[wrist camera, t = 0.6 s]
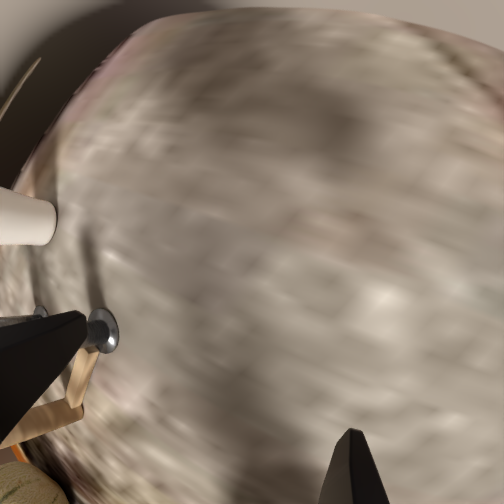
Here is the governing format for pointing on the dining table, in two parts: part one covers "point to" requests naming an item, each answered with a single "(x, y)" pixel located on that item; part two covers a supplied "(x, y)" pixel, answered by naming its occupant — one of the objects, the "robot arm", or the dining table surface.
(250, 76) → the dining table surface
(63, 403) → the gate
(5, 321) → the post
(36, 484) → the cantaloupe
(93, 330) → the post
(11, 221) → the cream white cylinder
